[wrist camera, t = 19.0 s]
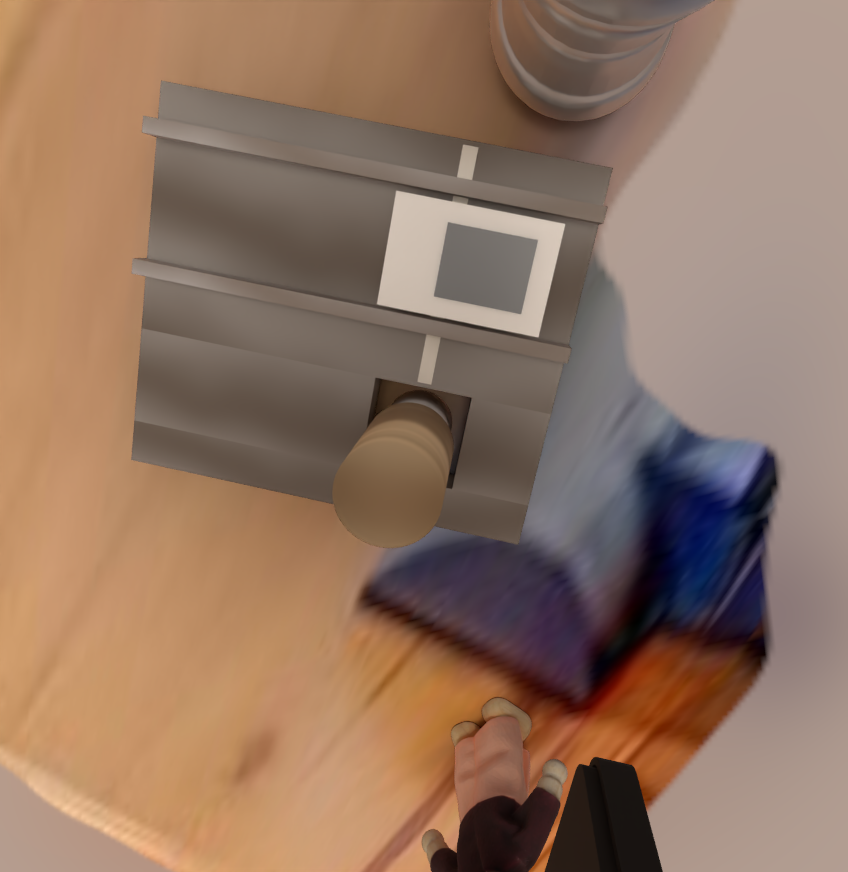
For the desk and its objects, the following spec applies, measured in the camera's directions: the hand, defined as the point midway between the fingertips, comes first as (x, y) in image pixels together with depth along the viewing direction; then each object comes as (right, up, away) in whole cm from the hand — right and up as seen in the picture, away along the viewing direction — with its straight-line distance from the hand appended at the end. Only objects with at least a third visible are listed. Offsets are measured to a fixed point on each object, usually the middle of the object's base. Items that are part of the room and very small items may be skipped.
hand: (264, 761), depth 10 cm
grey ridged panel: (0, +10, +20) cm, 23 cm away
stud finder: (+4, +12, +17) cm, 22 cm away
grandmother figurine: (+6, -10, +25) cm, 28 cm away
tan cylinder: (+2, +6, +21) cm, 22 cm away
